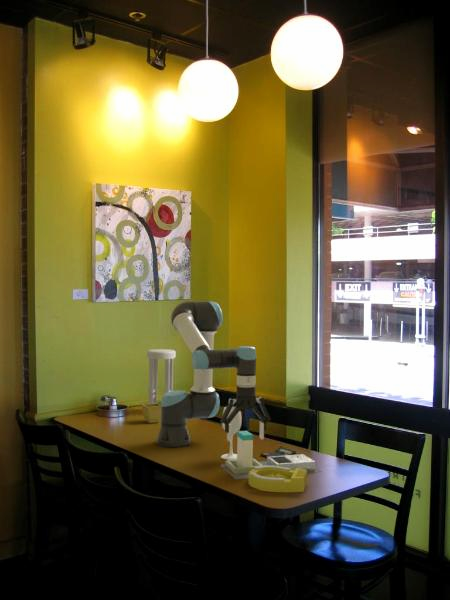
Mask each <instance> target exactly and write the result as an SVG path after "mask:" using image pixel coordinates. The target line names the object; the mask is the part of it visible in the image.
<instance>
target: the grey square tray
mask: <svg viewBox="0 0 450 600" xmlns="http://www.w3.org/2000/svg"><path fill="white" fill-rule="evenodd" d="M259 462H260V461H258V460H257V459H255V458H253V465H254V466H250V467H237V468H236V467H235V466H236V465H237V459H236V460H228V459H226V460H225V464H226V466H227V467H228V468H229V469H230V470H231V471H232V472H233V473H234V474H236V473H249V472H250V471H251V470H252V469H255V467H258V466H263V465H262V464H260V463H259Z"/></svg>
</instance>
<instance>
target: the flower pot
mask: <svg viewBox="0 0 450 600" xmlns="http://www.w3.org/2000/svg"><path fill="white" fill-rule="evenodd" d="M141 406H142V407H141V409H142V414H143V419H144V420H145V422H147V423H148V424H152V423H153V424H154V423H156V422H157V423H159V422H161V403H158V402H157V403H154V404H148V403H145V404H141ZM157 423H156V424H157Z"/></svg>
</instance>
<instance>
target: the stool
mask: <svg viewBox="0 0 450 600" xmlns="http://www.w3.org/2000/svg"><path fill="white" fill-rule="evenodd" d="M176 353H177V351H176V350H174V349H169V348H167V349H165V348H159V349H158V348H157V349H155V348H154V349H153V348H152V349H149V350H147V352H146V358H148V395H147V396H148V397H147V398H148V401H147V402H148V403H147V404H154V403H158V382H159V381H158V378H159V377H158V375H159V373H158V372H159V371H158V370H159V365H158V364H159V360H164V392H163V393H164V394H165V393H167V392H171V391H174V359H175V358H176V357H177V356H176ZM164 394H163V395H164Z"/></svg>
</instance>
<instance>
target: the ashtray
mask: <svg viewBox="0 0 450 600" xmlns="http://www.w3.org/2000/svg"><path fill="white" fill-rule="evenodd" d="M307 476H308V473H307V471H306V470H303V469H300V468H296V469H295V471H294V470H291V469H290V468H286V467H280V466H270V465H267V466H258V467H255V469H252V470H251V471H250V472H249V478H248V485H249V486H250V487H252V488H254V489H255V490H257V491H262V492H271V493H302V492H304V491H305V489H306V486H307V484H308V483H307V480H308V477H307Z"/></svg>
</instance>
